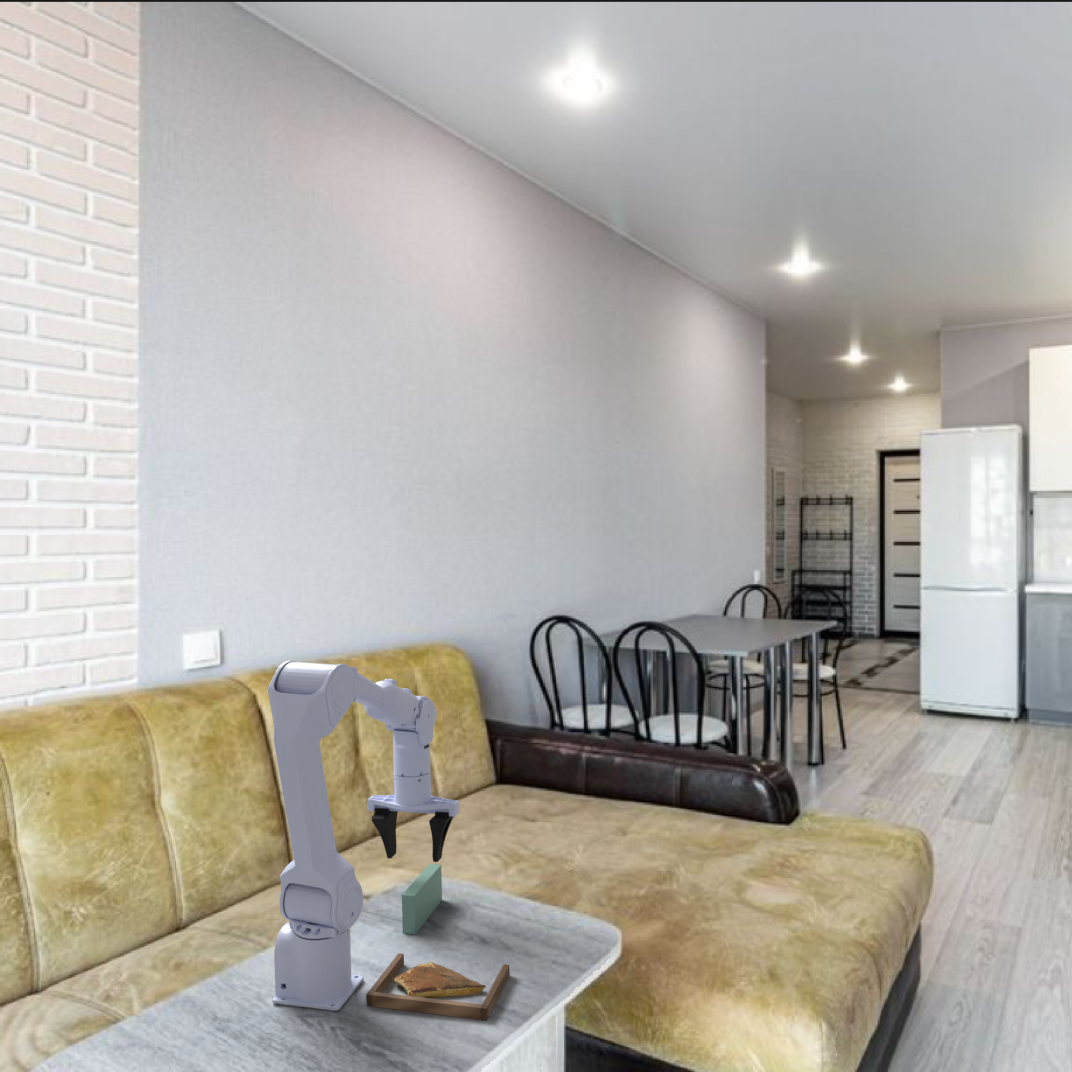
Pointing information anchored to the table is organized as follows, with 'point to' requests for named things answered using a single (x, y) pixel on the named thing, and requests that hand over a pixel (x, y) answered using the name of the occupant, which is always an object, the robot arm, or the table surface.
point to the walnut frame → (432, 1005)
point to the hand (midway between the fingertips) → (414, 857)
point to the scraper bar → (421, 898)
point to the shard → (436, 982)
